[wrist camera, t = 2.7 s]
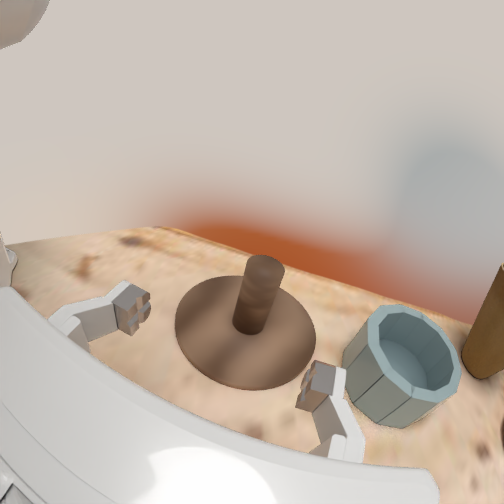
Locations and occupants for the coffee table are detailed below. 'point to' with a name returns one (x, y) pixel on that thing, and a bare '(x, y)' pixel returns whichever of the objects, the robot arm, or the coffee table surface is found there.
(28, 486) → the robot arm
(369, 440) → the coffee table surface
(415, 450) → the coffee table surface
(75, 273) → the coffee table surface
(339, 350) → the coffee table surface
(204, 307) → the walnut lid
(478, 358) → the plant pot
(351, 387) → the ceramic bowl
